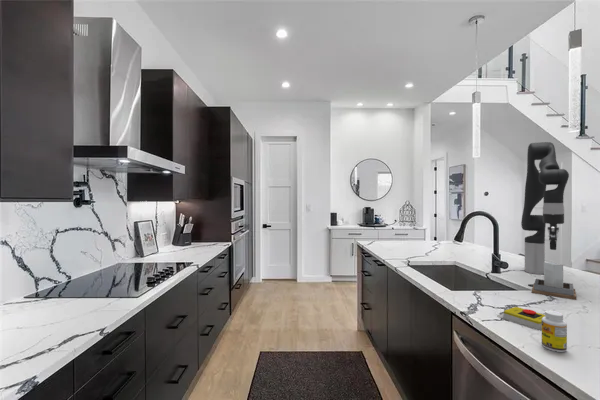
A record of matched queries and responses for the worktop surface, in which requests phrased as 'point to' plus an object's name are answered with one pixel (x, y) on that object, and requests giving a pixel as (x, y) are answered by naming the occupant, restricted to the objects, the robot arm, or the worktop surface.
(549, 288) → the dock socket
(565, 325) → the supplement bottle
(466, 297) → the worktop surface
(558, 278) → the skincare box
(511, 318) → the emergency button
